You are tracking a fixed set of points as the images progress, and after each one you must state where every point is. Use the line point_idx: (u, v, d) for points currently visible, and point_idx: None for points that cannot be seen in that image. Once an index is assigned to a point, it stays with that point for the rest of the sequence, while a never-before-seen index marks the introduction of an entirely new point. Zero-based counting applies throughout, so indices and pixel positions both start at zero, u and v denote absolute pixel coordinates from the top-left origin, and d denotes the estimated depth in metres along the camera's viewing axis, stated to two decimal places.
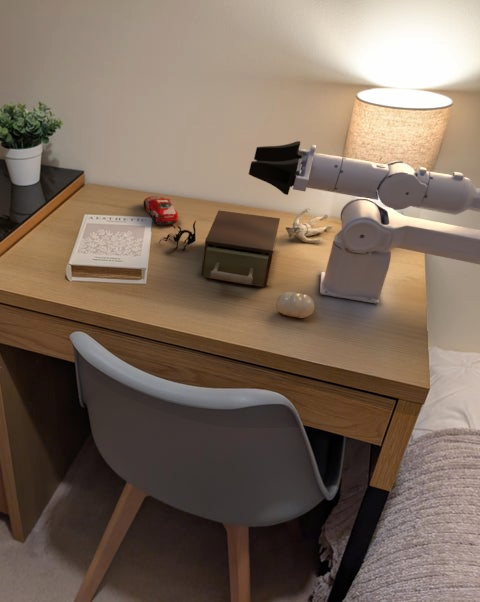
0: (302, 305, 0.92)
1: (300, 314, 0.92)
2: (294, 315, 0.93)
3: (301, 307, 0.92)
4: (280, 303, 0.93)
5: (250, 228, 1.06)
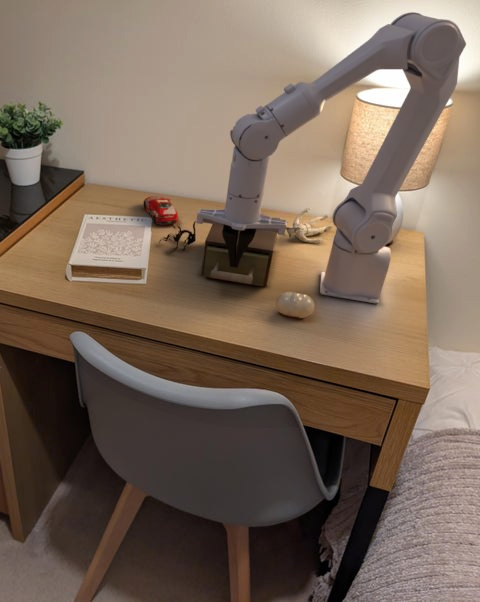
0: (302, 305, 0.92)
1: (300, 314, 0.92)
2: (294, 315, 0.93)
3: (301, 307, 0.92)
4: (280, 303, 0.93)
5: None
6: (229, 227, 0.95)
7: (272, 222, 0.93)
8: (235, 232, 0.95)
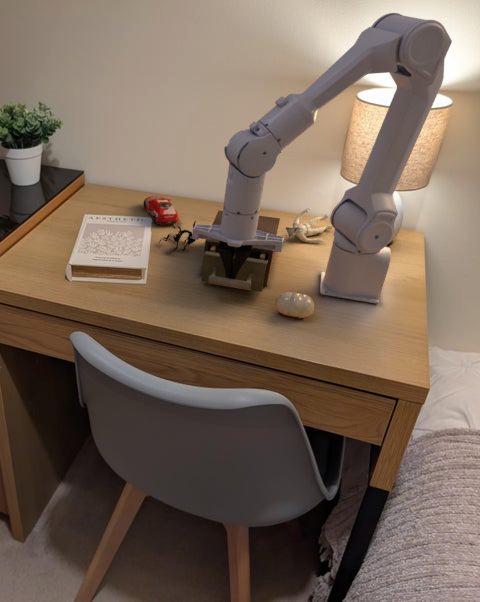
0: (302, 305, 0.92)
1: (300, 314, 0.92)
2: (294, 315, 0.93)
3: (301, 307, 0.92)
4: (280, 303, 0.93)
5: None
6: (225, 243, 0.94)
7: (269, 238, 0.91)
8: (231, 248, 0.93)
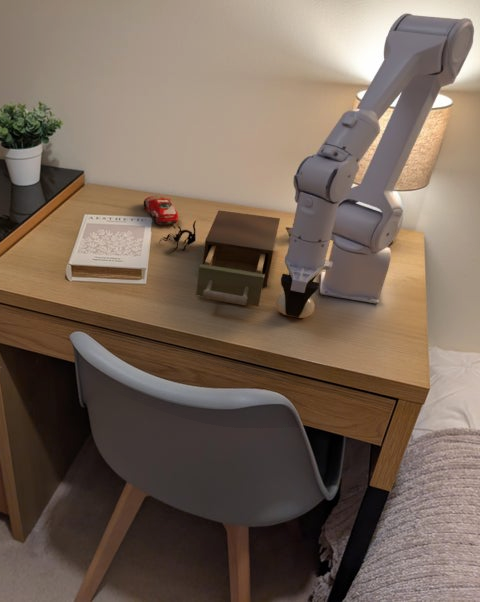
0: None
1: None
2: None
3: None
4: (280, 303, 0.93)
5: (250, 228, 1.06)
6: None
7: None
8: (310, 281, 0.88)
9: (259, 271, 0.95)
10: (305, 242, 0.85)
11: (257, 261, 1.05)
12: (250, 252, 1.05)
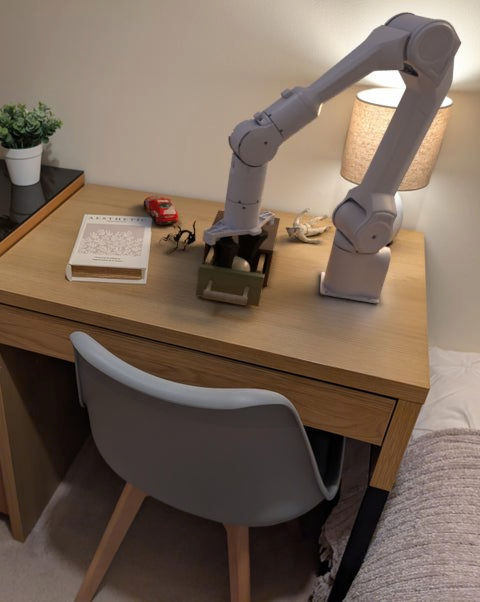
0: (232, 267, 0.97)
1: None
2: None
3: None
4: None
5: None
6: (226, 239, 0.93)
7: (262, 216, 0.96)
8: (233, 241, 0.93)
9: (259, 271, 0.95)
10: (229, 201, 0.91)
11: (257, 261, 1.05)
12: None
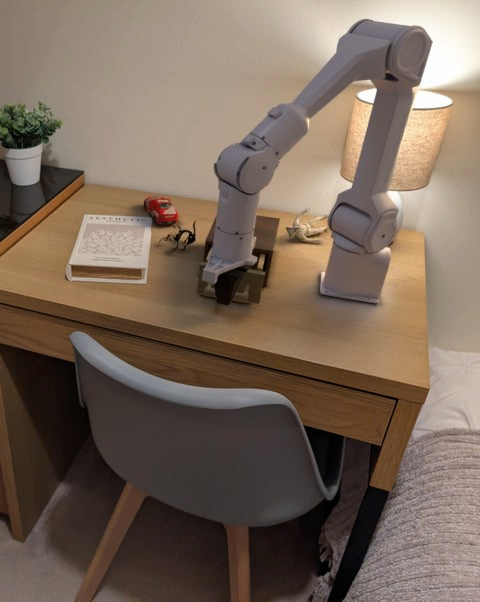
0: None
1: None
2: None
3: None
4: None
5: None
6: None
7: None
8: (236, 269, 0.87)
9: (260, 269, 0.96)
10: (223, 233, 0.83)
11: (258, 259, 1.06)
12: None
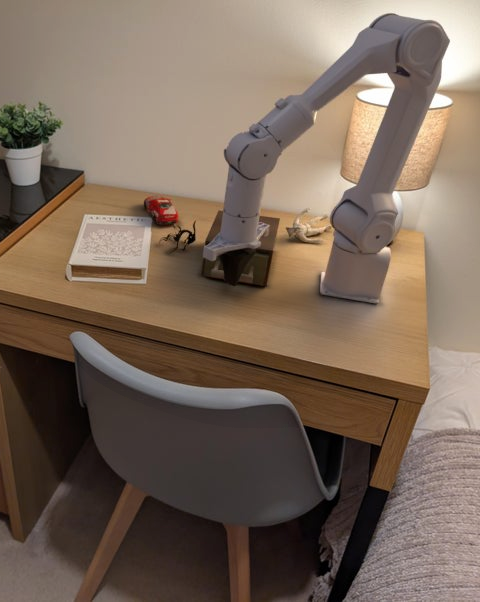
0: None
1: None
2: None
3: None
4: None
5: None
6: (235, 250, 0.92)
7: (257, 228, 0.95)
8: (242, 251, 0.93)
9: None
10: (227, 215, 0.89)
11: None
12: None
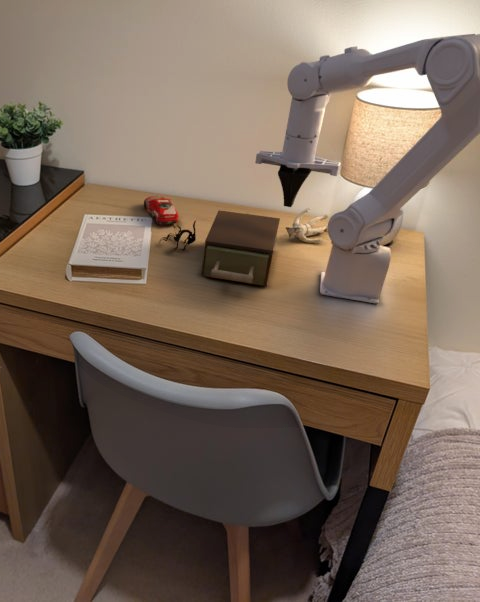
0: None
1: None
2: None
3: None
4: None
5: (250, 228, 1.06)
6: (285, 167, 1.04)
7: (326, 163, 1.01)
8: (290, 172, 1.03)
9: None
10: None
11: None
12: None
